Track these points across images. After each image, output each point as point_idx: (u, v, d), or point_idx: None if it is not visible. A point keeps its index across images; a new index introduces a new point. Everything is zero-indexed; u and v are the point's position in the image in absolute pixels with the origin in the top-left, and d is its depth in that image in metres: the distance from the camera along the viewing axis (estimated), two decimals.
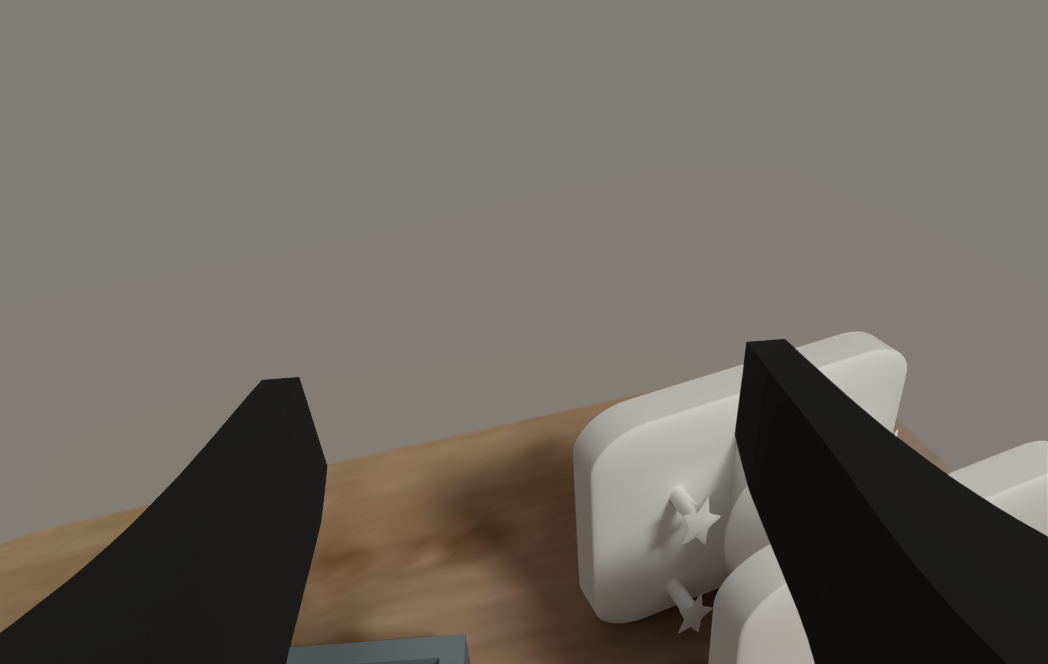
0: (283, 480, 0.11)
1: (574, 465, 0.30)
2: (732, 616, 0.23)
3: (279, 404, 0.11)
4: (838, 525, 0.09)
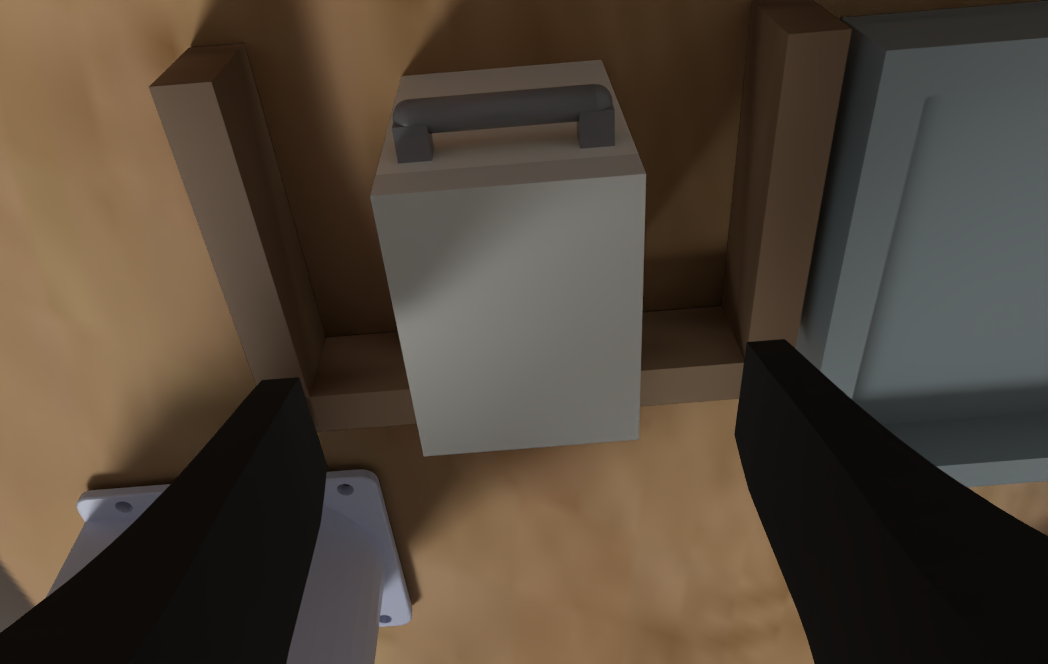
0: (283, 480, 0.11)
1: None
2: None
3: (279, 404, 0.11)
4: (838, 525, 0.09)
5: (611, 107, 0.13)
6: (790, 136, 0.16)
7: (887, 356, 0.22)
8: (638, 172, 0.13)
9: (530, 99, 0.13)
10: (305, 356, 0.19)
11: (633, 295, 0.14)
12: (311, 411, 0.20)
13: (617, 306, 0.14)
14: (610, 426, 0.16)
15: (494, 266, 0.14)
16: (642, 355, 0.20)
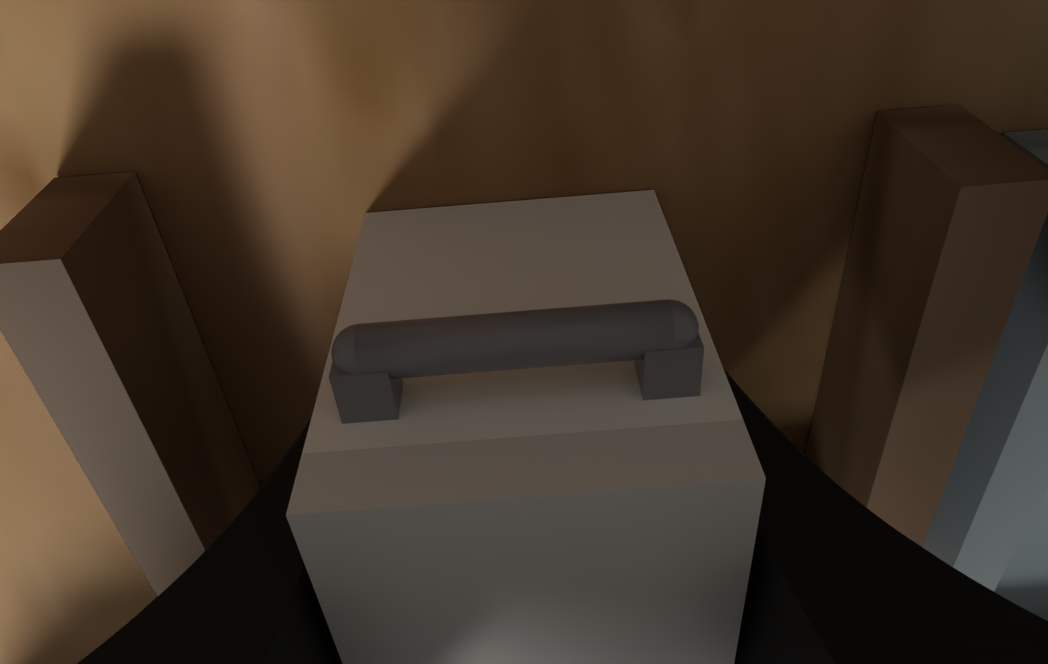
0: None
1: None
2: None
3: None
4: None
5: (696, 336, 0.08)
6: (943, 322, 0.11)
7: None
8: (750, 474, 0.07)
9: (562, 331, 0.08)
10: None
11: (725, 624, 0.09)
12: None
13: (698, 637, 0.09)
14: None
15: (499, 596, 0.08)
16: None
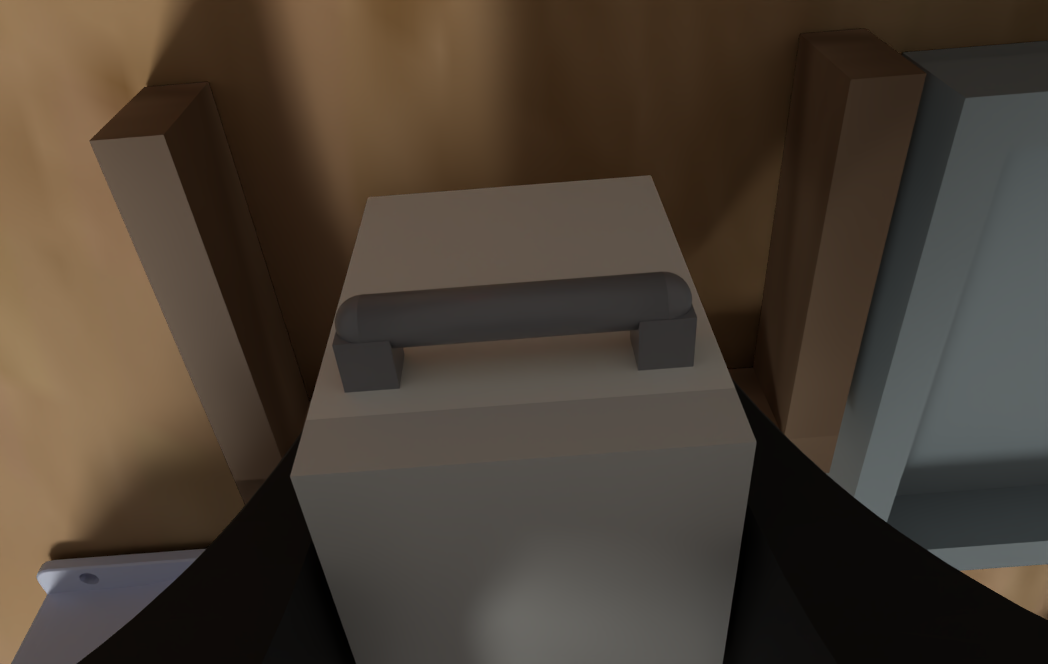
0: None
1: None
2: None
3: None
4: None
5: (690, 308, 0.08)
6: (847, 195, 0.14)
7: (938, 422, 0.20)
8: (741, 437, 0.07)
9: (559, 301, 0.08)
10: (284, 431, 0.17)
11: (718, 592, 0.09)
12: None
13: (692, 604, 0.09)
14: None
15: (498, 562, 0.08)
16: None
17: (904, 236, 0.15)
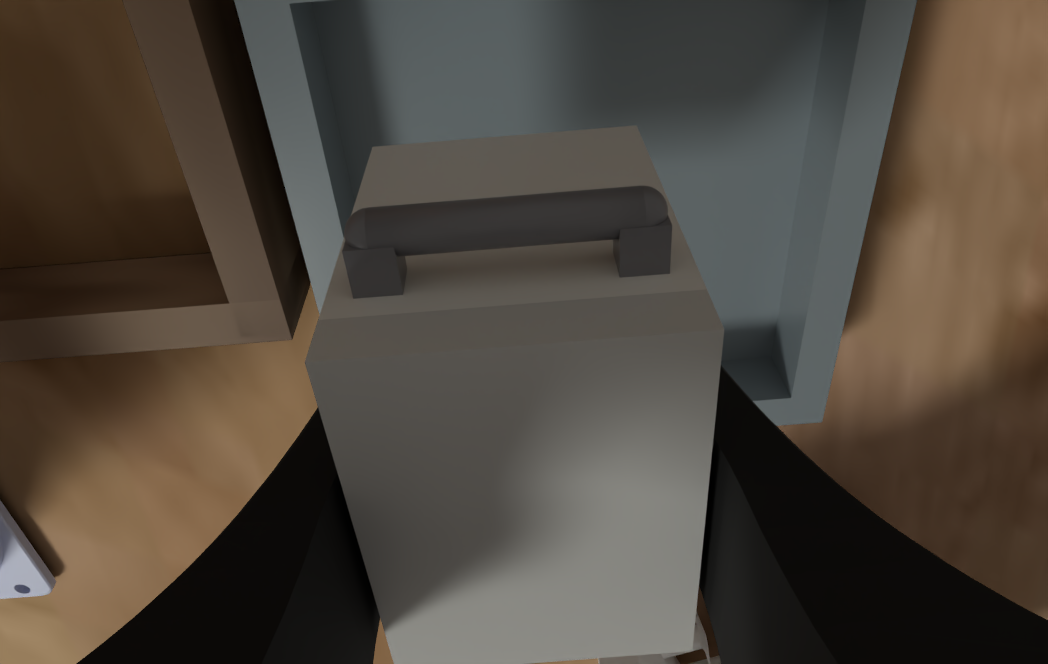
0: None
1: None
2: None
3: None
4: (733, 533, 0.09)
5: (666, 218, 0.09)
6: (155, 46, 0.15)
7: None
8: (711, 326, 0.08)
9: (547, 210, 0.09)
10: None
11: (695, 484, 0.10)
12: None
13: (670, 498, 0.10)
14: (654, 637, 0.12)
15: (492, 451, 0.09)
16: (134, 297, 0.19)
17: None
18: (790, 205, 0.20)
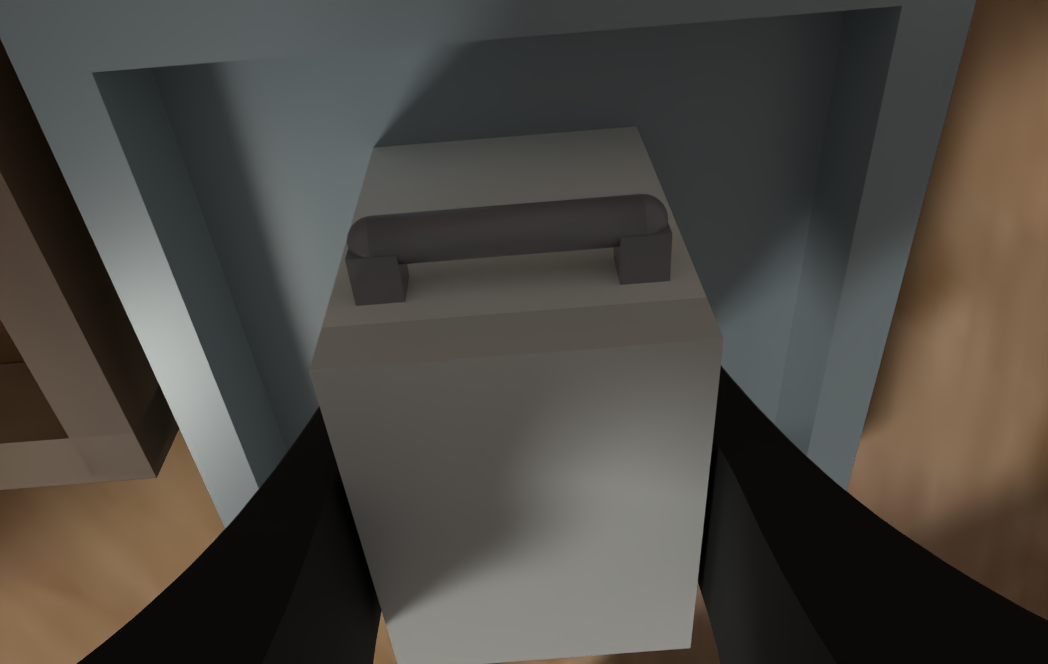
0: None
1: None
2: None
3: None
4: (733, 533, 0.09)
5: (666, 227, 0.09)
6: None
7: None
8: (710, 335, 0.08)
9: (548, 218, 0.09)
10: None
11: (694, 488, 0.10)
12: None
13: (670, 501, 0.10)
14: (653, 635, 0.12)
15: (493, 456, 0.09)
16: None
17: None
18: (788, 302, 0.16)
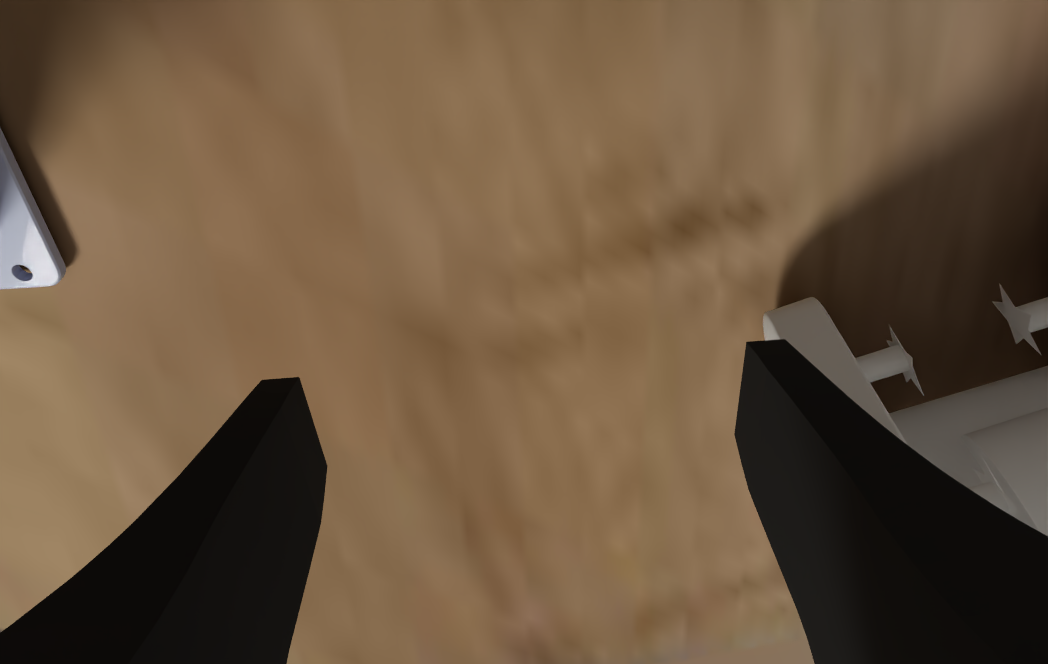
0: (283, 480, 0.11)
1: None
2: None
3: (279, 404, 0.11)
4: (838, 525, 0.09)
5: None
6: None
7: None
8: None
9: None
10: None
11: None
12: None
13: None
14: None
15: None
16: None
17: None
18: None
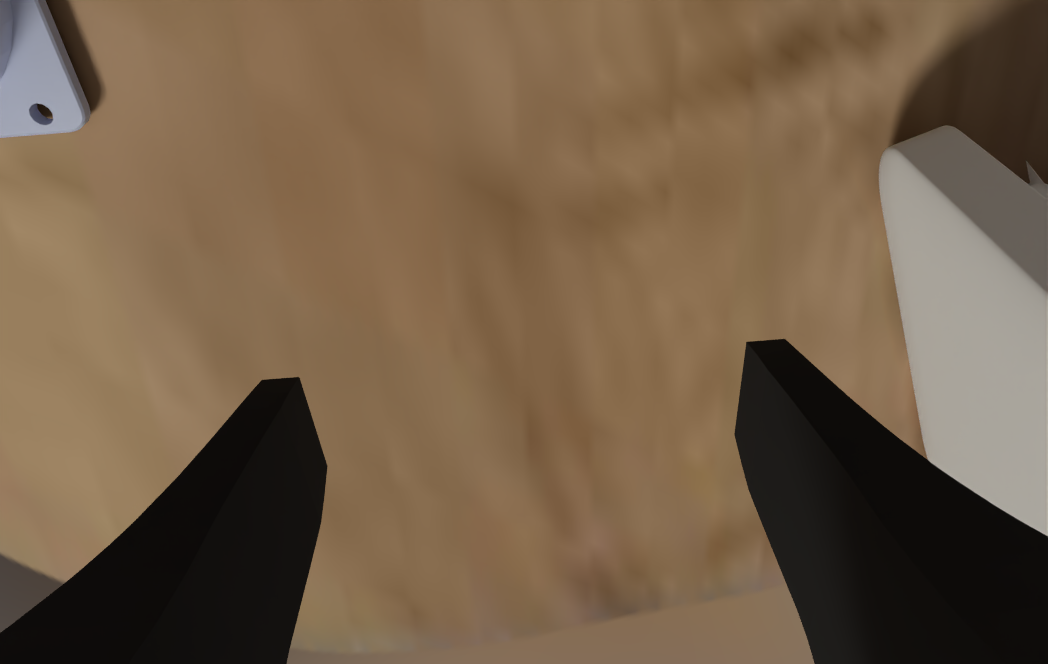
0: (283, 480, 0.11)
1: None
2: None
3: (279, 404, 0.11)
4: (838, 525, 0.09)
5: None
6: None
7: None
8: None
9: None
10: None
11: None
12: None
13: None
14: None
15: None
16: None
17: None
18: None
